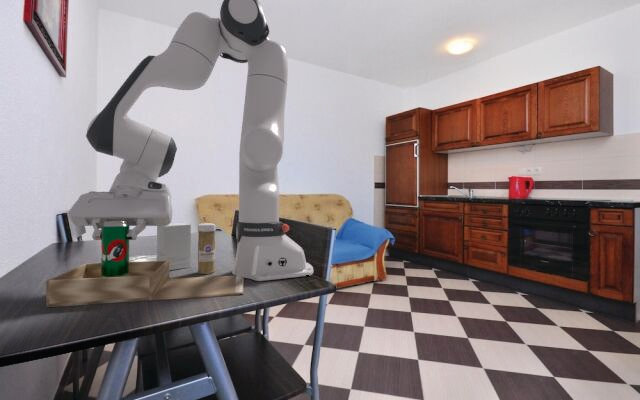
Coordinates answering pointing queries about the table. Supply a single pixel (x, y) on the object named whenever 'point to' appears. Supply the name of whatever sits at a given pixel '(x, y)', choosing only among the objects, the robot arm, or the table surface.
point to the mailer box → (134, 285)
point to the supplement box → (174, 245)
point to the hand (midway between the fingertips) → (114, 238)
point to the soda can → (114, 249)
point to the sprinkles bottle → (206, 248)
